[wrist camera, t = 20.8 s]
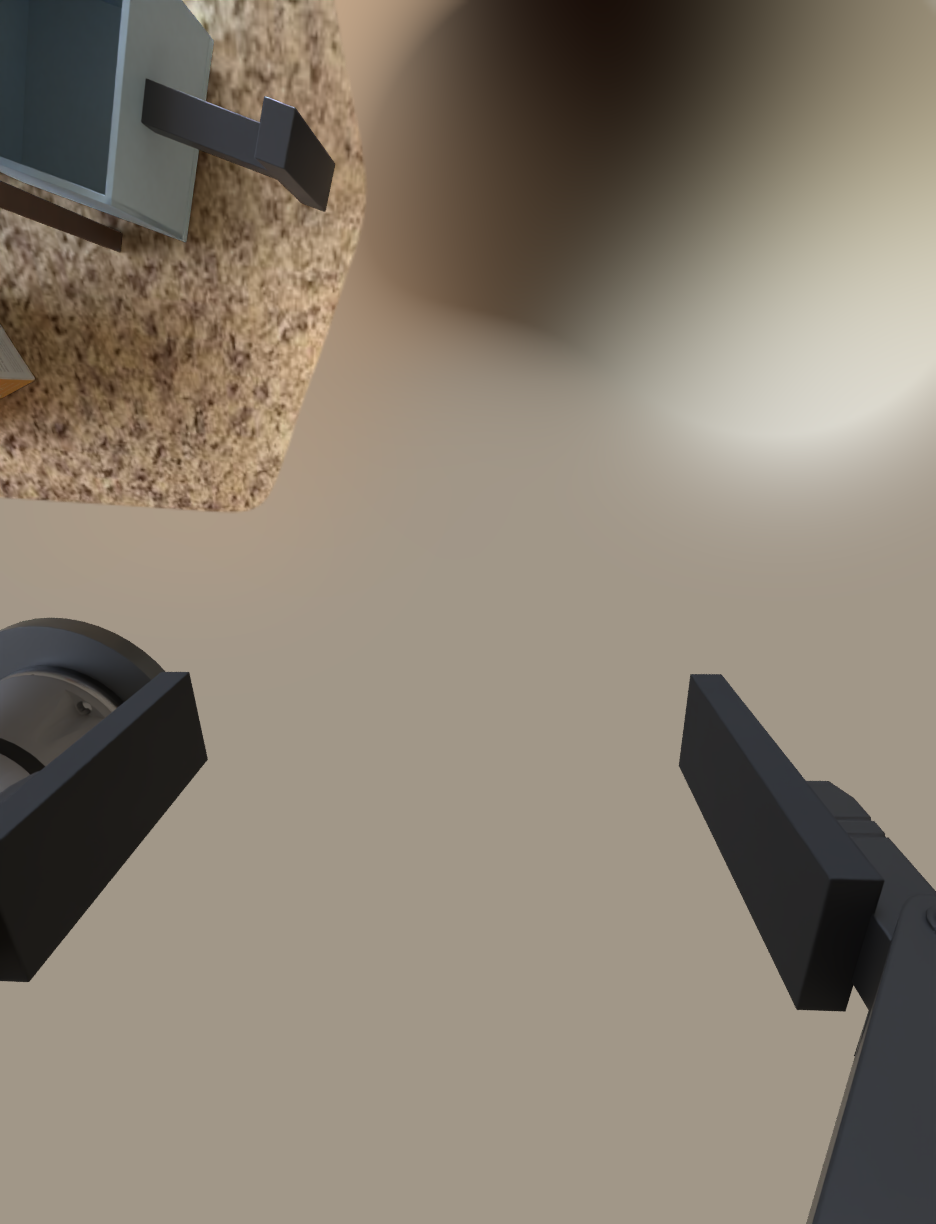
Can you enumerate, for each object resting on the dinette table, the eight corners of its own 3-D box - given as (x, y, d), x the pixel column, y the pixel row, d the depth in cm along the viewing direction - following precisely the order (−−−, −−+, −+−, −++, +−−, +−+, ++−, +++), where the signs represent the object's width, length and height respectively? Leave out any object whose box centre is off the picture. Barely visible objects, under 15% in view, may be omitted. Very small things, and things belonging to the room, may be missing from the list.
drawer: (363, 99, 35) (315, -2, 26) (320, 292, 39) (267, 261, 30) (32, -32, 34) (-137, -186, 25) (22, 182, 38) (-127, 115, 29)
